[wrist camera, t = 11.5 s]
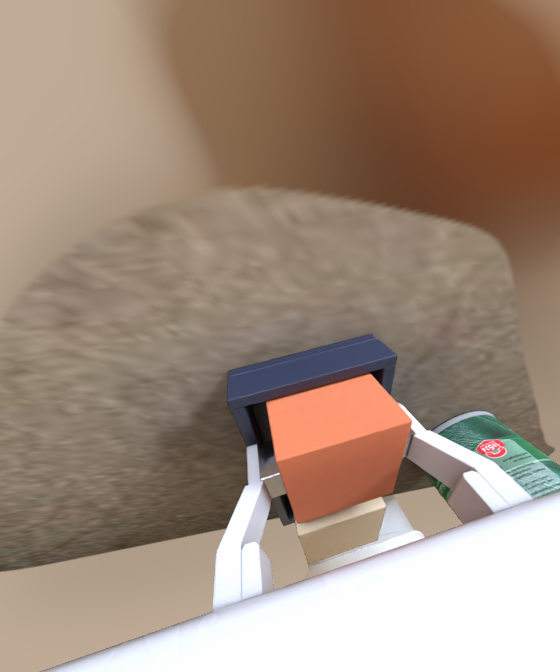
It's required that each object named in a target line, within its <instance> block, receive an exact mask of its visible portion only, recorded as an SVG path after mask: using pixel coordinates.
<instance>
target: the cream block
mask: <svg viewBox="0 0 560 672" xmlns="http://www.w3.org/2000/svg"><path fill="white" fill-rule="evenodd" d="M385 509H386V504H385V503H384V501H383V499H382V497H379V498H376V499H373V500H370V501H367V502H364V503H361V504H357V505H354V506H351V507H348V508H345V509H342V510H339V511H336V512H333V513H330V514H327V515H324V516H321V517H318V518H315V519H312V520H309V521H306V522H303V523H300V524H297V522H296V519H295V516H294V519H295V524H296V529H297V534H298V537H299V540H300V542H301V545H302V548H303V550H304V553H305V556H306V558H307V561H308V563H309V564H311V563H314V562H316V561H319V560H322V559H325V558H328V557H331V556H334V555H337V554H339V553H342V552H345V551H348V550H351V549H354V548H357V547H360V546H362V545H365V544H368V543H371V542H374V541H377V540H378V536H379V532H380V529H381V525H382V521H383V517H384V513H385ZM293 514H294V513H293Z"/></svg>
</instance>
